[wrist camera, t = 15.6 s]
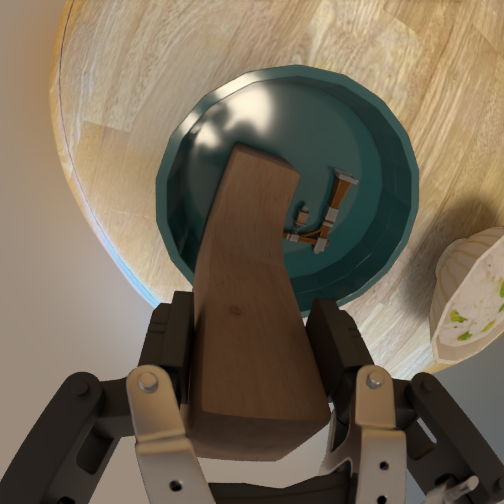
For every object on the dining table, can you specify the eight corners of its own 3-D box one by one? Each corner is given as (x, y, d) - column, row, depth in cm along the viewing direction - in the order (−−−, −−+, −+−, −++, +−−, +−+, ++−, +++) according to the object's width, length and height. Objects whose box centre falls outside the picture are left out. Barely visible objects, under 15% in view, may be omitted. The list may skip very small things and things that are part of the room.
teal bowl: (173, 276, 27) (163, 313, 23) (179, 66, 18) (162, 55, 13) (357, 285, 29) (376, 318, 25) (403, 104, 20) (440, 109, 15)
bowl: (513, 210, 26) (559, 243, 17) (462, 318, 35) (492, 360, 26) (431, 172, 23) (500, 210, 14) (372, 320, 32) (403, 382, 24)
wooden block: (234, 140, 20) (263, 281, 4) (289, 159, 21) (434, 322, 6) (199, 240, 24) (174, 456, 8) (248, 254, 25) (279, 463, 9)
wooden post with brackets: (279, 249, 25) (325, 260, 25) (311, 164, 21) (361, 181, 21) (277, 239, 26) (320, 250, 27) (306, 158, 22) (353, 175, 23)
